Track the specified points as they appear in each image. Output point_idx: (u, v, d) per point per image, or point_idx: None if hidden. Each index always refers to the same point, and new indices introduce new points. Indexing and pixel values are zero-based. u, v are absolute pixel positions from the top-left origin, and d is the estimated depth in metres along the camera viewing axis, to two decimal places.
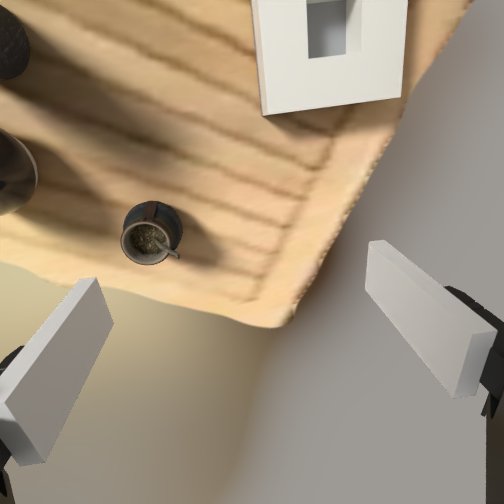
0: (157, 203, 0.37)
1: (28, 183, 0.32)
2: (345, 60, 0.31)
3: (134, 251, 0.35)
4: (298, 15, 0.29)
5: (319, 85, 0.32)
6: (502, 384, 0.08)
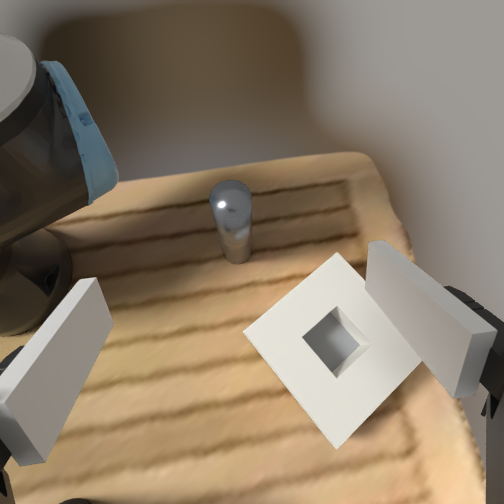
0: None
1: None
2: (365, 358, 0.33)
3: None
4: (307, 355, 0.33)
5: (361, 391, 0.32)
6: (502, 384, 0.08)
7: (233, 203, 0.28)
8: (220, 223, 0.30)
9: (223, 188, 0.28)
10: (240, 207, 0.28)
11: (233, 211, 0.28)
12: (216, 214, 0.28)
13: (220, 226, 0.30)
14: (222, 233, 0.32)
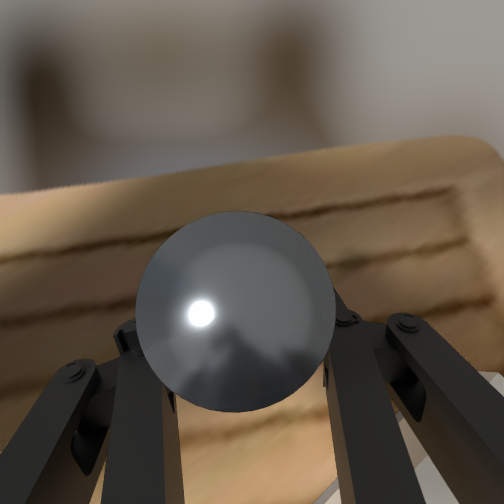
0: None
1: None
2: None
3: None
4: None
5: None
6: None
7: (250, 327, 0.06)
8: None
9: (203, 251, 0.06)
10: (283, 353, 0.06)
11: (251, 375, 0.06)
12: (169, 382, 0.06)
13: None
14: None
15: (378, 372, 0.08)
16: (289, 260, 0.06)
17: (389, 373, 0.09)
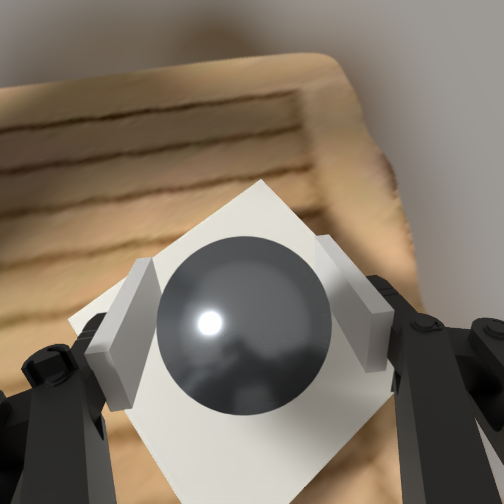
0: None
1: None
2: None
3: None
4: None
5: (286, 439, 0.16)
6: (402, 361, 0.10)
7: (257, 342, 0.07)
8: None
9: (215, 272, 0.07)
10: (285, 364, 0.07)
11: (258, 383, 0.06)
12: (186, 389, 0.07)
13: None
14: None
15: (461, 385, 0.07)
16: (291, 281, 0.07)
17: (474, 381, 0.09)
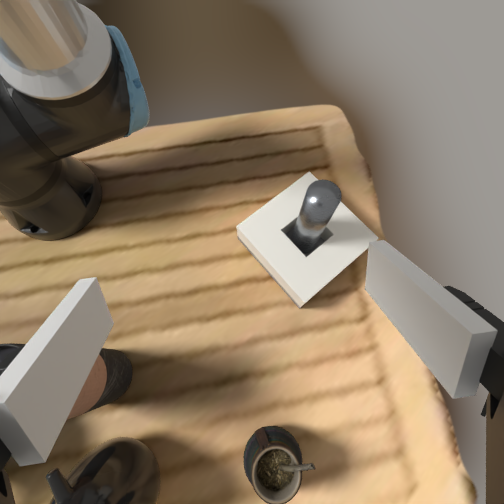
0: (263, 428, 0.38)
1: (155, 476, 0.34)
2: (328, 243, 0.44)
3: (269, 493, 0.33)
4: (285, 241, 0.44)
5: (324, 265, 0.43)
6: (502, 384, 0.08)
7: (326, 199, 0.34)
8: (311, 216, 0.35)
9: (317, 186, 0.34)
10: (332, 202, 0.34)
11: (327, 205, 0.33)
12: (312, 208, 0.34)
13: (309, 218, 0.36)
14: (307, 225, 0.38)
15: None
16: (332, 188, 0.34)
17: None
